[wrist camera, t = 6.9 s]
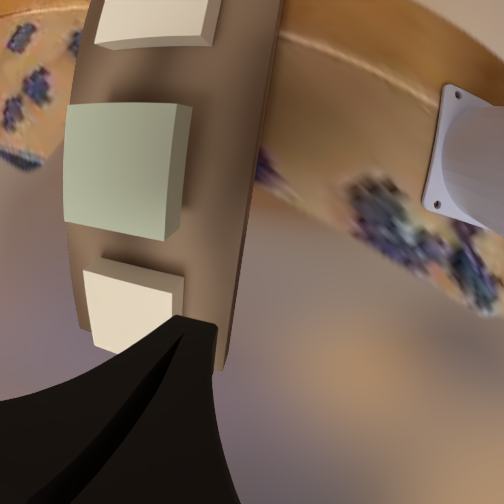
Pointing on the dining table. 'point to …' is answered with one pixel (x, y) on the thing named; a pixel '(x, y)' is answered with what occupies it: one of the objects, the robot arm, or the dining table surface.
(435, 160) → the robot arm
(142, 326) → the key
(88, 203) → the key middle
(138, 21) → the key
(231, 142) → the board
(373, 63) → the dining table surface
